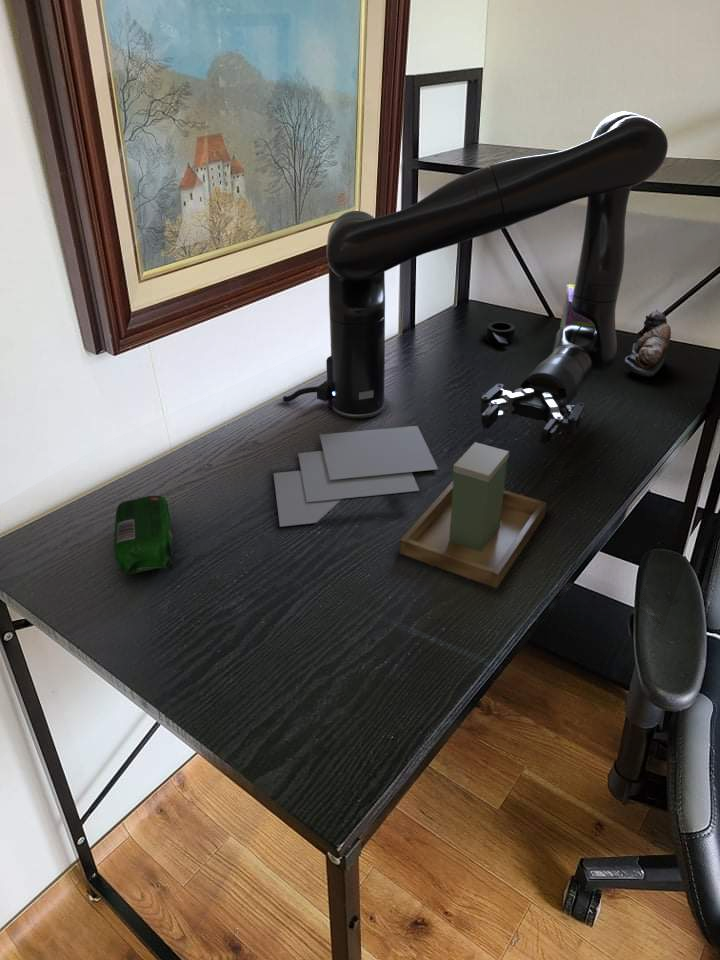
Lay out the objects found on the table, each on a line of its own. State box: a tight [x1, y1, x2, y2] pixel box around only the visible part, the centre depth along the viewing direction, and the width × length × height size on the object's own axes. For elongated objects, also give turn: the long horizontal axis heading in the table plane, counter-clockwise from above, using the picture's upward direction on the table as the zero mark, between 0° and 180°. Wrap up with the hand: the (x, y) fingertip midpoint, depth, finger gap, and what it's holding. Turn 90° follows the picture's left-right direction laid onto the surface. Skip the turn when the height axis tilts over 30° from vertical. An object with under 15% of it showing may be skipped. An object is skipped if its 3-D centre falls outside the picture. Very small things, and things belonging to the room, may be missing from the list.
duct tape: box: [485, 320, 516, 346], centre depth 155 cm, size 8×10×3 cm
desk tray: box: [399, 480, 548, 589], centre depth 98 cm, size 14×18×2 cm
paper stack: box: [273, 425, 439, 528], centre depth 112 cm, size 23×25×1 cm
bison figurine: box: [624, 309, 672, 378], centre depth 140 cm, size 12×7×10 cm, turn 154°
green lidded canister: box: [449, 441, 510, 552], centre depth 95 cm, size 5×7×12 cm
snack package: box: [113, 495, 174, 576], centre depth 95 cm, size 7×16×5 cm, turn 15°
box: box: [559, 284, 595, 330], centre depth 148 cm, size 10×6×12 cm, turn 168°
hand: (514, 430), depth 101 cm, fingers open, 8 cm apart
